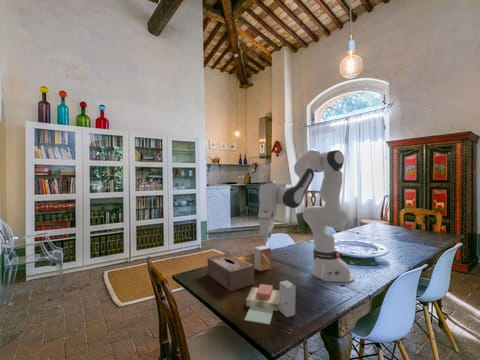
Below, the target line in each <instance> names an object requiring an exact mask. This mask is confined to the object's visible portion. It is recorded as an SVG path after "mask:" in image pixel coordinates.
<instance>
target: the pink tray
mask: <svg viewBox="0 0 480 360" xmlns="http://www.w3.org/2000/svg"><path fill="white" fill-rule="evenodd" d="M257 288H258V290H257V293H256V297H257V298H265V299H270V297H271V294H272V291H273V290H274V286H273V285H270V284H263V283H260V284H259V286H258V287H257Z"/></svg>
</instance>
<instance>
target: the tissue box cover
mask: <svg viewBox="0 0 480 360" xmlns="http://www.w3.org/2000/svg"><path fill="white" fill-rule="evenodd" d="M207 275H208V276H210V278H212V279H213V280H215V281H216V282H218V283H219V284H220V285H222V286H223V287H224V288H225V289H227V290H228V291H230V292H233V291H236V290H240V289H243V288H245V287H248V286H253V285H255V264H252V263H250V262H249V261H245V259H244V260H243V259H241V258H239V257H237V256H236V255H233V254H231V253H229V252H227V253H222V254H218V255H214V256H208V257H207Z"/></svg>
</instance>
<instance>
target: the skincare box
mask: <svg viewBox="0 0 480 360" xmlns="http://www.w3.org/2000/svg"><path fill="white" fill-rule="evenodd" d="M278 290H279V310H278V311H280V313H281V314H282V315H283V316H285V317H286V318H289V317H293V316H295V315H296V296H297V295H296V290H297V289H296V285H295V284H294V283H293V282H290V281H289V280H284V281H279V289H278Z"/></svg>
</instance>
